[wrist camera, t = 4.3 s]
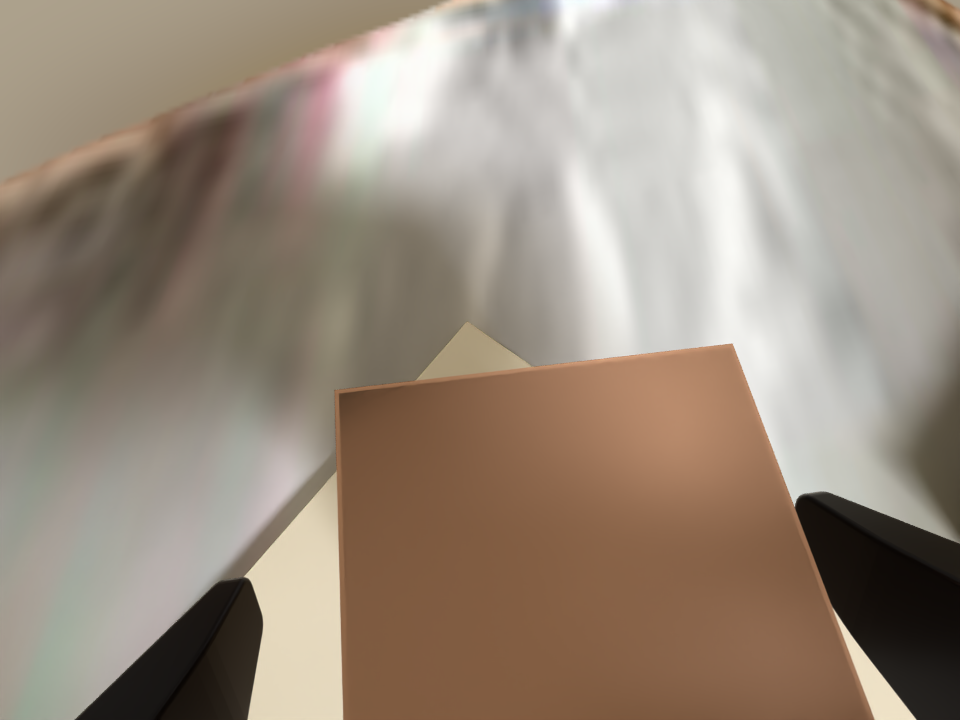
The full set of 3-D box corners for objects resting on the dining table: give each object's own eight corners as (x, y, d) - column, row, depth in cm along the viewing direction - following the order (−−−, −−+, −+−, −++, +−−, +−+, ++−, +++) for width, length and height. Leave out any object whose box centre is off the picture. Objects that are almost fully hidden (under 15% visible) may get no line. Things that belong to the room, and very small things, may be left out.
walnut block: (570, 476, 16) (732, 343, 6) (609, 660, 14) (924, 853, 4) (410, 498, 15) (334, 389, 6) (426, 692, 13) (348, 985, 4)
